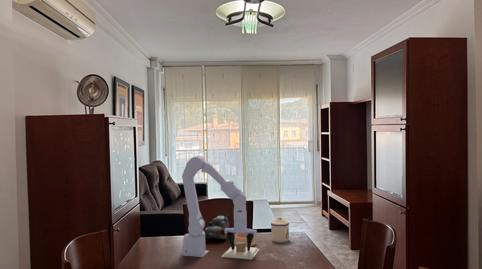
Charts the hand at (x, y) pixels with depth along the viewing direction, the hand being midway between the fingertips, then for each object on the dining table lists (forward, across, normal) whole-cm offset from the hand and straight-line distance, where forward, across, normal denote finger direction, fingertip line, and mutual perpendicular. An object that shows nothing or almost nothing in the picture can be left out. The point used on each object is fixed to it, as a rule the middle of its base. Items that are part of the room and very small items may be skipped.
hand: (240, 249), depth 162 cm
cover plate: (+1, 0, 0) cm, 1 cm away
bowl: (+2, +2, -13) cm, 13 cm away
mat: (+2, 0, 0) cm, 2 cm away
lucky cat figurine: (+2, +19, -19) cm, 27 cm away
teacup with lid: (+2, -13, -25) cm, 28 cm away
